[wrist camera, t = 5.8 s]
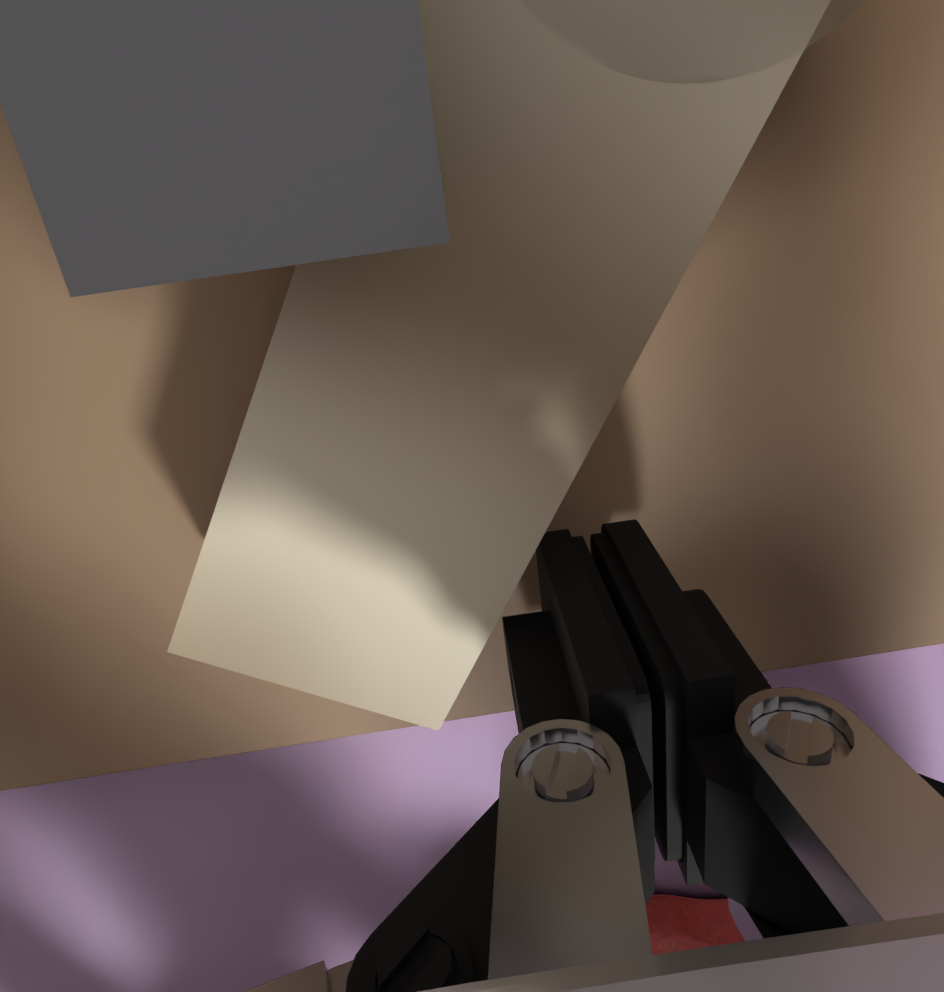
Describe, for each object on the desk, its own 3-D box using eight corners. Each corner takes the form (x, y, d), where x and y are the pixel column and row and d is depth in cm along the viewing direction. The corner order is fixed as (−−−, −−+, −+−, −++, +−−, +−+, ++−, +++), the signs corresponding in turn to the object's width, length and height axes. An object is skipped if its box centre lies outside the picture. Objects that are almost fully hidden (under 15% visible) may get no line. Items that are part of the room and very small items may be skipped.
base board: (1501, -914, 7) (1788, -1202, 6) (1087, 571, 15) (1165, 616, 13) (-993, -612, 7) (-1391, -839, 5) (-113, 757, 15) (-175, 825, 13)
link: (553, -608, 6) (798, -1995, 2) (956, -285, 8) (1590, -835, 4) (176, 566, 11) (36, 788, 7) (460, 657, 12) (484, 893, 8)
